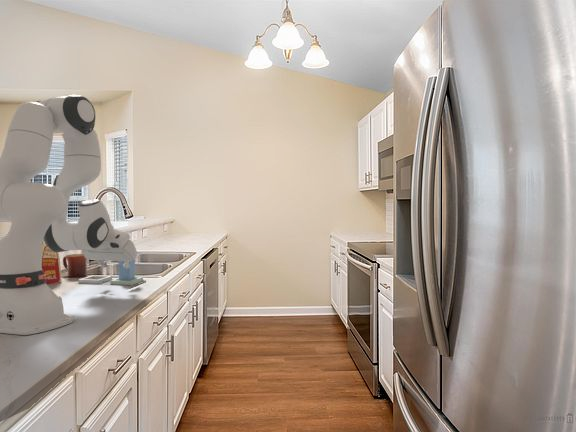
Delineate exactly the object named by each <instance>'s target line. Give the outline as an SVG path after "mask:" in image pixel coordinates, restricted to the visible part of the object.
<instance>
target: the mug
mask: <svg viewBox="0 0 576 432" xmlns="http://www.w3.org/2000/svg"><path fill="white" fill-rule="evenodd" d="M87 261H88V259H86V258H85V257H84V254H83V253H73V254H72V253H71V254H67V255H65V256H64V257H63V258H62V264H63V267H64V268H65V270H67V276H68V278H85V277H87V275H88V267H87Z"/></svg>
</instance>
